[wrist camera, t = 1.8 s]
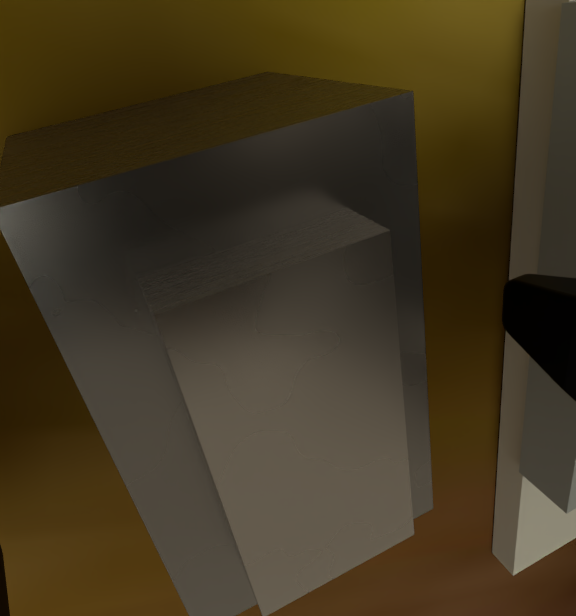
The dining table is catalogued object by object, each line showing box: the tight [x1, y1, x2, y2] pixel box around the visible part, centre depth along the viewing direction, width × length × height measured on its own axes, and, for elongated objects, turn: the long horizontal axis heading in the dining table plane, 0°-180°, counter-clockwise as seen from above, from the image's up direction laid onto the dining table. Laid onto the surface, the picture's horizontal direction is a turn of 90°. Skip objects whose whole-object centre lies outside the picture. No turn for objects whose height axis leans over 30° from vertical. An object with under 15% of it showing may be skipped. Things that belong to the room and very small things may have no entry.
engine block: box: [0, 72, 433, 616], centre depth 10 cm, size 8×5×6 cm, turn 11°
